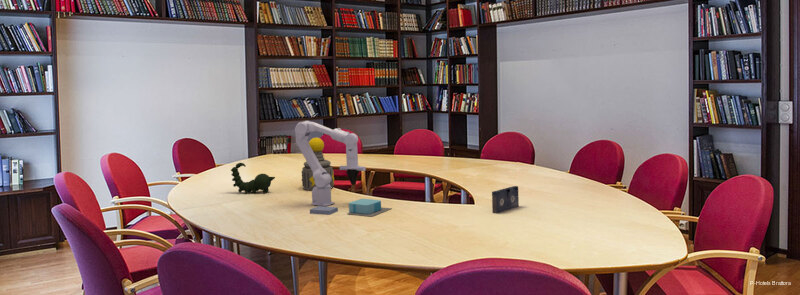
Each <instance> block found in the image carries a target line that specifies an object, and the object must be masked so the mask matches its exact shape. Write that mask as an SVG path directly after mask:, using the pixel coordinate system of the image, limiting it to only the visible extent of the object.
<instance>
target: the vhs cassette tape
mask: <svg viewBox="0 0 800 295" xmlns="http://www.w3.org/2000/svg"><path fill="white" fill-rule="evenodd" d="M519 198H520V197H519V186H517V185H514V186H509V187H506V188H502V189H497V190H494V191H491V204H492V207H491V208H492V214H500V213H503V212H506V211H509V210H513V209H515V208H518V207H520V205H519V204H520V203H519Z"/></svg>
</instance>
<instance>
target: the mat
mask: <svg viewBox="0 0 800 295" xmlns="http://www.w3.org/2000/svg"><path fill="white" fill-rule="evenodd" d="M391 210H392V207H382V206H381V210H379V211H376V212H374V213H371V214H359V213H351V212H348V213H347V215H349V216H350V215H351V216H359V217H370V218H373V217H375V216H379V215H380V214H383V213H385V212H388V211H391Z"/></svg>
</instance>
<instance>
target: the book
mask: <svg viewBox="0 0 800 295" xmlns="http://www.w3.org/2000/svg"><path fill="white" fill-rule="evenodd" d="M337 212H339V207H338V206H319V205H316V206H315V207H313V208H309V214H312V215H314V214H315V215H329V216H330V215H333V214H335V213H337Z"/></svg>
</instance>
